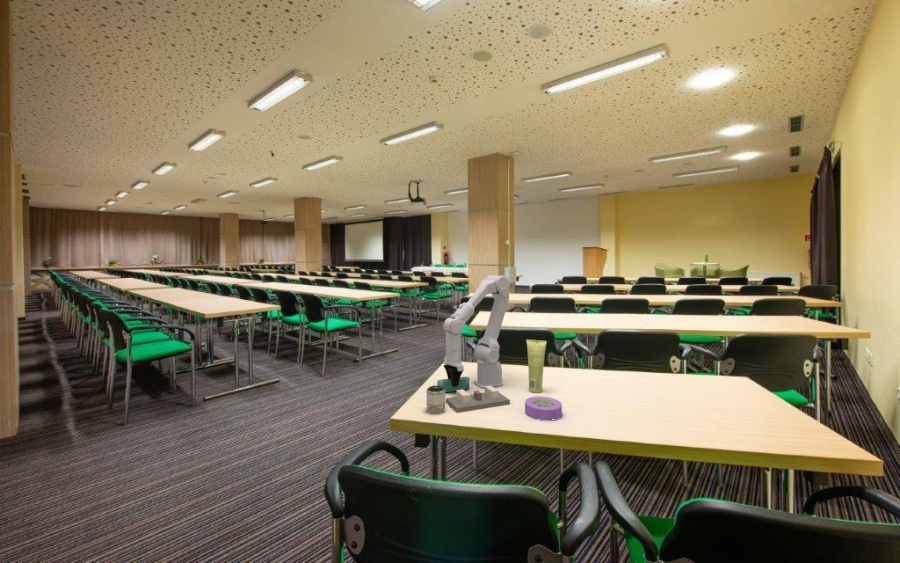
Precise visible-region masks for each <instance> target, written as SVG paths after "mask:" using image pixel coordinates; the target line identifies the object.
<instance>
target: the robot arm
mask: <svg viewBox="0 0 900 563" xmlns="http://www.w3.org/2000/svg"><path fill="white" fill-rule="evenodd" d="M510 288H511V282H510V281H509V278H508V277H507V276H506V275H502V274H501V275H495V274H487V275H486V276H484V278H483V279H482V280H481V281H480V285H479V286H478V287H477V289H476V290H475V292H474V293H473V294H472V296H470V298H469V299H468V301H467V302H462V303H460V304H459V305H458V308H457V309H456V310H455V311H454V313H452V314H451V316H450V317H448V318H446V319H445V321H444V322H443V324H442V328H443V330H444V332H445V356H444V357H443V358H444V361H442V364H443V368H444V370H445V373H446V376H447V379H450V378H451V380H452V386H453V387H455V386H458V385H459V380H460V377H462V374H463V372H464V370H465V369H464V365H463V362H462V332H463V331H464V329H465V325H466V323H467V322H468V321H469V320H470V318H471V317H472V316H473V315H474V314H475V308H476V307H477V306H478V305H479V304H480V303H481V302H482V300H483V299H485V297H486V296H487V295H489V294H491V295H492V297H493V299H494V301H493V305H492V307H491V311H490V315H489V317H488V322H487V325H486V327H485V328H486V329H485V331H484V334H483V336H482V337H481V338H479V340H478V342H477V345H476V346H474V349H473V355H474V357H475V358H476V362H477V364H476V365H477V366H476V368H477V369H476V370H477V373H476V376H477V378H476V379H477V380H473V383H474V384H475V385H477V386H478V387H480V388H481V389H485V386H492V387H499V386H503V385H504V384H503V369H502V368H503V367H502V364H501V362H500V361H499V358H500V348H501V347H500V344H499V342H498V338H499V336H500V331H501V328H502V325H503V322H504V317H505V315H506V310H507V307H508V304H509V300H510Z"/></svg>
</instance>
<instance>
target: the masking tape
mask: <svg viewBox="0 0 900 563" xmlns="http://www.w3.org/2000/svg"><path fill="white" fill-rule="evenodd" d="M562 411H563V404H562V402H561V401H559V400H558V399H556V398H553V397H550V396H549V397H548V396H540V395H539V396H536V395H535V396H531V397H527V398H526V399H525V400H524V414H525V413H526V414H525V415H526V416H527V417H529V418H530V417H531V419H533V418H534V420H536V419H540V420H539V421H542V420H552V419H557V418H559V417H561V418H562V416H561V415H562V414H563V413H562ZM559 419H560V418H559ZM557 420H558V419H557ZM552 421H553V420H552Z"/></svg>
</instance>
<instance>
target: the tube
mask: <svg viewBox="0 0 900 563" xmlns="http://www.w3.org/2000/svg"><path fill="white" fill-rule="evenodd" d="M525 341H526V348H527V360H528V361H527V362H528V363H527V364H528V366H527V367H528V390H529V392H531V393H542V390H543V378H544V365H545V364H544V363H545V354H546V347H547V340H536V339H526V340H525Z"/></svg>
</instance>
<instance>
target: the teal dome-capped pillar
mask: <svg viewBox="0 0 900 563" xmlns="http://www.w3.org/2000/svg"><path fill="white" fill-rule="evenodd" d="M436 384H437V385H436V386H441V387H443V388H444V389H445V393H448V392H451V393H452V392H456V390H464V391H466V390H469V389H470V377H469V376H461V377H460V380H459V385H458V386H455V387H453V386H452V380H451V378H450V379H448V378H445V379H443V378H442V379H438V380H437V382H436Z"/></svg>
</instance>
